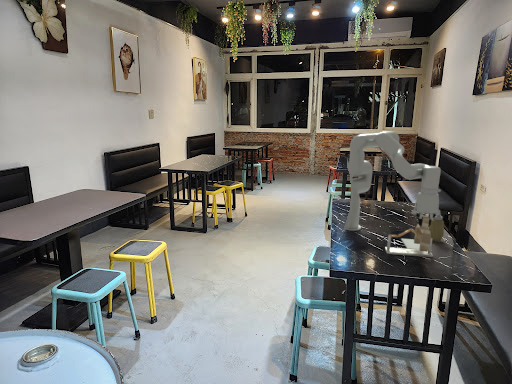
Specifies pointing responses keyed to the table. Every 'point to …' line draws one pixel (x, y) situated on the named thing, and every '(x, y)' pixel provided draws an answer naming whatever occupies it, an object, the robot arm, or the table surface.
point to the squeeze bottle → (437, 228)
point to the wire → (407, 251)
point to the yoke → (423, 235)
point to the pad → (410, 244)
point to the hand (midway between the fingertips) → (424, 225)
